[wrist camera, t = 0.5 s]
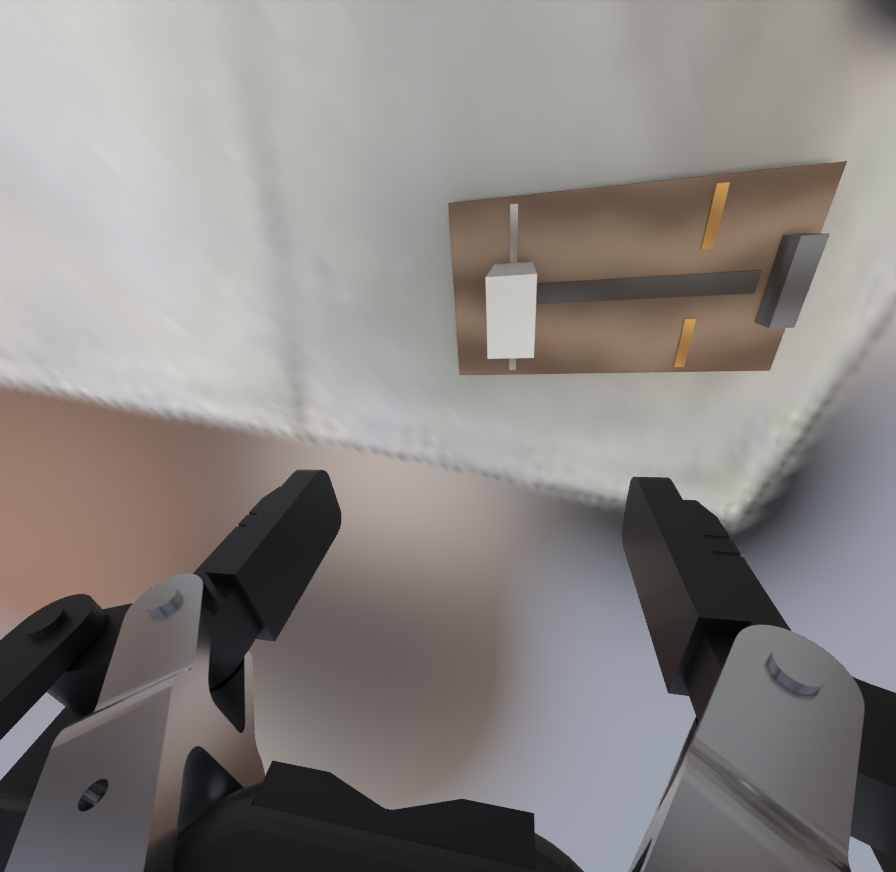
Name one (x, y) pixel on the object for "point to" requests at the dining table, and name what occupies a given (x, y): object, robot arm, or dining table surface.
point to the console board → (648, 270)
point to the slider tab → (511, 310)
